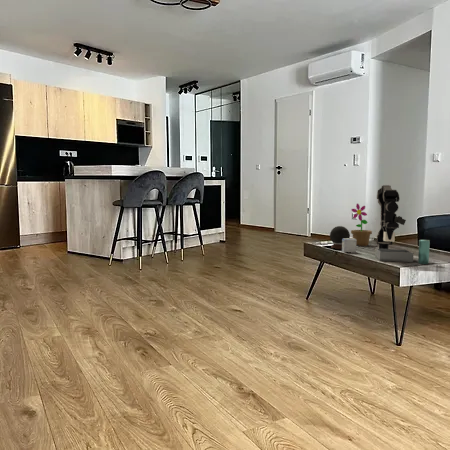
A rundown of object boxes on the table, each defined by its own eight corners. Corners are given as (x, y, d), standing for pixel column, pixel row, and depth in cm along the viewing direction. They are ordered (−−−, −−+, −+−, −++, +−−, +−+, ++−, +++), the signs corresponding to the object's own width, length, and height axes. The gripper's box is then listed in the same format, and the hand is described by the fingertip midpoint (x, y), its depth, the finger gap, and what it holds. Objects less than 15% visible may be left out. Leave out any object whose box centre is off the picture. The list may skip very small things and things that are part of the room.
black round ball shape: (353, 248, 284) (354, 226, 283) (341, 249, 277) (341, 227, 275) (337, 246, 295) (338, 225, 294) (325, 247, 287) (326, 225, 286)
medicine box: (353, 251, 269) (354, 238, 268) (356, 252, 264) (356, 239, 264) (341, 251, 269) (342, 238, 268) (343, 252, 264) (344, 239, 263)
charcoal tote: (375, 257, 247) (375, 248, 247) (406, 257, 244) (407, 249, 244) (379, 260, 234) (380, 251, 234) (413, 261, 231) (413, 252, 231)
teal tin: (416, 262, 230) (417, 239, 229) (426, 262, 229) (428, 239, 228) (419, 263, 225) (420, 240, 224) (429, 264, 224) (431, 241, 223)
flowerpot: (346, 244, 303) (347, 203, 301) (357, 243, 313) (358, 202, 310) (364, 246, 292) (366, 203, 290) (375, 245, 302) (376, 203, 300)
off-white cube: (383, 240, 242) (383, 231, 241) (392, 240, 241) (392, 231, 241) (385, 241, 237) (385, 232, 236) (394, 241, 236) (394, 232, 236)
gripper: (409, 212, 227) (408, 241, 228) (400, 211, 245) (399, 237, 247) (387, 212, 229) (386, 240, 230) (380, 211, 247) (379, 237, 248)
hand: (388, 239), depth 239 cm, fingers closed on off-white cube, 5 cm apart
